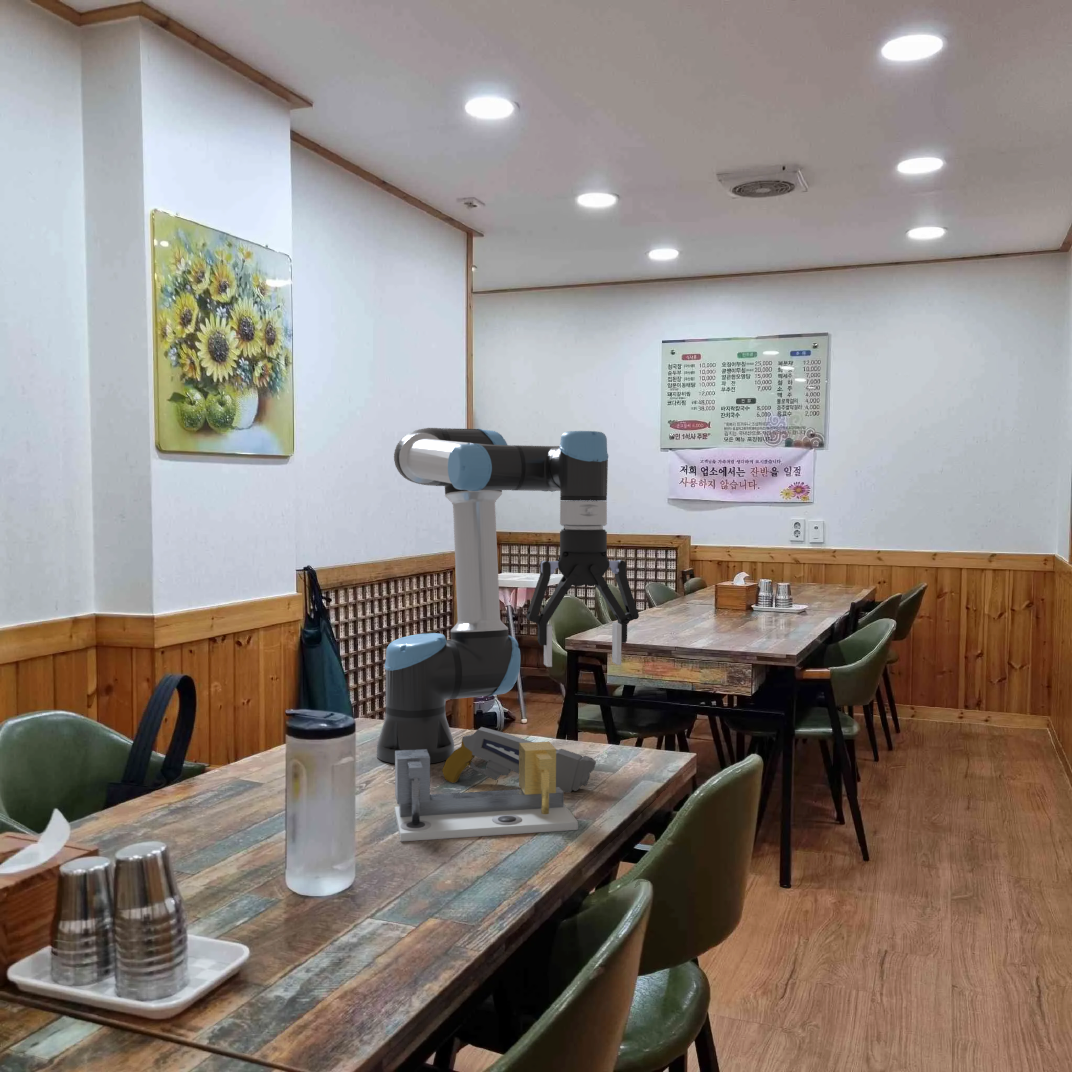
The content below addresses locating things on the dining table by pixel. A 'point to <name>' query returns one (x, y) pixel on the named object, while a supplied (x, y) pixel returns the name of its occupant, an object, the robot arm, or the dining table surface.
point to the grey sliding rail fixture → (419, 801)
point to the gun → (513, 759)
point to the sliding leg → (538, 770)
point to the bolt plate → (485, 823)
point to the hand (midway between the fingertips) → (582, 664)
